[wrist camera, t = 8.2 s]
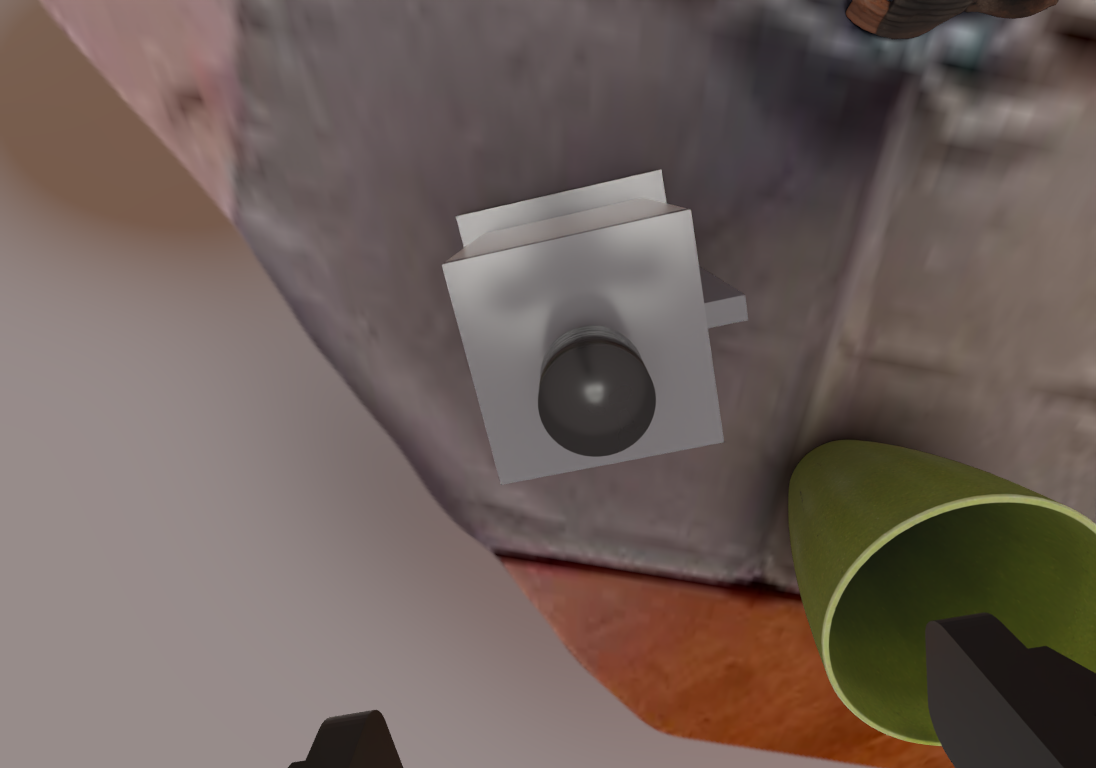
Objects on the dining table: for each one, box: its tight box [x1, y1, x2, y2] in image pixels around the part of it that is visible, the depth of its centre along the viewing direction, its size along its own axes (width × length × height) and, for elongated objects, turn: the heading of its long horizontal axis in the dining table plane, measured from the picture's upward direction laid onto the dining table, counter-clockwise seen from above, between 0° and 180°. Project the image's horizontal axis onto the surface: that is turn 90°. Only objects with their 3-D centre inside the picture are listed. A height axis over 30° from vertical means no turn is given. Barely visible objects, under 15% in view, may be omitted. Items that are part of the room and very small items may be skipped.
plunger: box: [538, 325, 656, 457], centre depth 30 cm, size 8×8×19 cm
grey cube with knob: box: [442, 170, 748, 485], centre depth 34 cm, size 13×14×16 cm
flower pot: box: [788, 440, 1096, 746], centre depth 39 cm, size 15×15×16 cm
